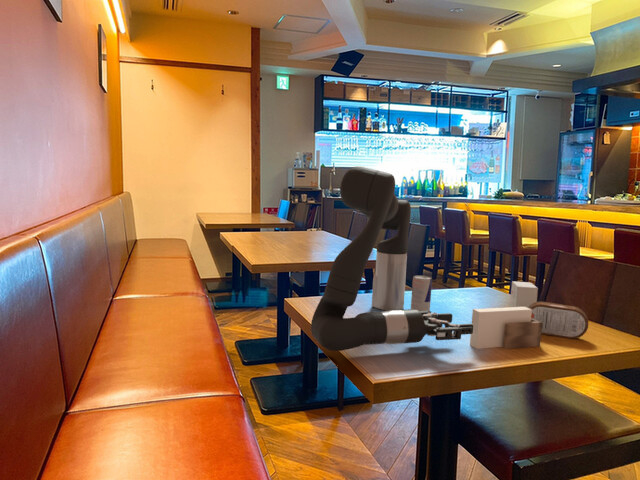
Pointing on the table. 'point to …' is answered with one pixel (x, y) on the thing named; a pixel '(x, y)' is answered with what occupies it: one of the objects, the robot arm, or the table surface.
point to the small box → (523, 294)
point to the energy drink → (421, 293)
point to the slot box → (522, 334)
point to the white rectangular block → (495, 324)
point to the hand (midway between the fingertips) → (461, 323)
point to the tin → (560, 319)
